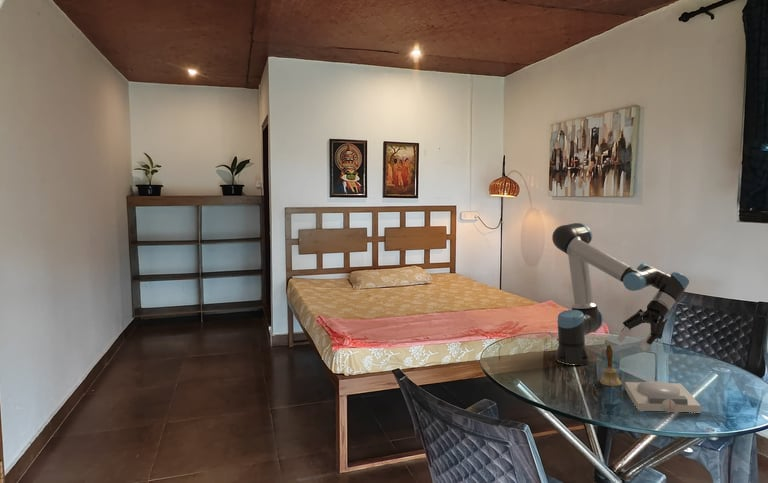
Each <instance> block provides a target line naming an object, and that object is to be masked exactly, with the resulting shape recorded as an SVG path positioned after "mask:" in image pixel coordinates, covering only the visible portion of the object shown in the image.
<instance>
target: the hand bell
mask: <svg viewBox="0 0 768 483" xmlns="http://www.w3.org/2000/svg"><path fill="white" fill-rule="evenodd" d="M605 356H606V359H607V368H605V369H604V373H603V377H601V378H600V380H599V382H600V384H602V385H603V386H608V387H618V386H619V387H620V386H622V384H623V383H622V380H620V378H619V376H618V372H617V370H616V369H614V368H613V357H614V350H613V348H612V346H611V344H607V346H606V350H605Z"/></svg>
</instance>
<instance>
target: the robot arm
mask: <svg viewBox="0 0 768 483" xmlns="http://www.w3.org/2000/svg"><path fill="white" fill-rule="evenodd" d="M551 239H552V240H551V241H552V243H553V244H554V246H555V247H556V248H557V250H560V251H562V252H563V253H565V254H566V255H567V257H568V263H569V264H568V265H569V272H570V273H569V274H570V280H571V285H572V286H571V287H572V294H573V301H574V303H573V304H572V305H571V309H568V310H563V311H561V312H559V313H558V315H557V334H558V335H557V336H558V338H557V339H558V346H557V349H556V352H555V356H554V357H555V360H556V359H557V360H559V361H561V362H564V363H569V364H577V365H581V364H586V365H587V363H588V364H590V362H591V361H590V360H591V359H590V355H589V352H588V350H587V348H586V342H585V339H586V335H587V336H588V334H591V333H595V332H597V331H598V330H599V329H600V328H601V327H602V325H603V323H604V316H603V313H602V311H600V309H599V308H598V304H597V303H596V302H595V301H594V297H593V290H592V289H593V288H592V283H591V275H590V268H589V265H591V266H593V267H594V268H597V269H598V270H600V271H602V272H604V273H605V274H607V275H609V276H611V277H612V278H614V279H616V280H618V281H620V282H622V284H623V286H624V287H625V289H627V290H628V291H632V292H635V291H640V290H643V289H644V288H647V287H653V288H654V289H657V290H658V291H657V292H656V293H655V295H654V296H653V297H652V300H650V301H649V302H648V304H647V305H646V310H645V311H644V310H643V309H641V308H639V310H637V312H636V313H634V314H632V316H630V317H628V318H627V319H626V320H624V321H623V322H622V324H623V325H624V327H623V328H622V330H620V333H619V334H618V336H617V337H616V339H617V340H618V341H620V342H621V343H622V342H624V340H625V339H626V338H627V336H628V335H629V334H630V333H631V331H632V329H633V328H636V327H637V326H639V325H642V324H645V323H646V324H649V325H650V333H649V334H648V335H647V336H646V337H645V339H644V340H643V341H642V342H641V344H640V345H639V349H641V351H642V352H646V351H647V349H648V348H649V346H651V345H652V344H653V343H654V341H655V340H656V339H659V340H661V339H662V337H663V334H664V330H665V325H666V323H667V321H668V318H666V317H665V316H666V315H667V314H668V313H669V310H671V309H672V307H673V306H674V304H675V303H676V302H677V300H678V299H679V298H680V296H681V295H682V294H683V293H684V292H685V290H686V289H687V287H688V286H689V284H690V279H689V278H688V277H687V275H684V274H683V273H681V272H677V271H673V272H671V274H669V273H666V272H664V271H661V270H660V269H658V268H656V267H655V266H653V265H649V264H647V263H645V262H644V263H641V264H639V265H638V266H637V267H636V268H634V267H632V266H630V265H628V263H625V262H622V260H619V259H618V258H615V257H613V256H612V255H610V254H608V253H606V252H604V251H603V250H600V249H599V248H596V247H595V246H593V245H591V244H590V243H591V242H592V240H593V233H592V230H591V228H590V227H589V226H588V225H586V224H584V223H582V222H581V223H580V222H576V223H568V224H562V225H560V226H557V227H556V228H555V229H554V230H553V232H552V237H551Z"/></svg>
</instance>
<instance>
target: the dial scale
mask: <svg viewBox="0 0 768 483" xmlns="http://www.w3.org/2000/svg"><path fill="white" fill-rule="evenodd" d="M624 389H625V391H626V394H627V396H629V399H630V400H631V402H632V404H633V403H634V404H633V405H634V407H635V406H636V407H635V408H637V409H638V410H650V411H651V410H652V411H670V412H689V413H688V414H695V413H702V412H701V411H702V410H701V408H702V407H701V406H702V405H701V404H700V403H699V402H698V401H697V400H696V398H694V397H693V395H692V394H691V393H690V392H689V391H688V389H687V388H686V387H684V385H683V384H682V383H681V382H680V383H677V382H675V383H673V382H663V381H656V380H655V381H654V380H651V381H650V380H649V381H642V382H640V381H639V382H637V381H636V382H634V381H633V382H632V381H625V382H624ZM637 409H636V410H637ZM638 410H637V411H638ZM690 412H691V413H690ZM693 412H694V413H693Z"/></svg>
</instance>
